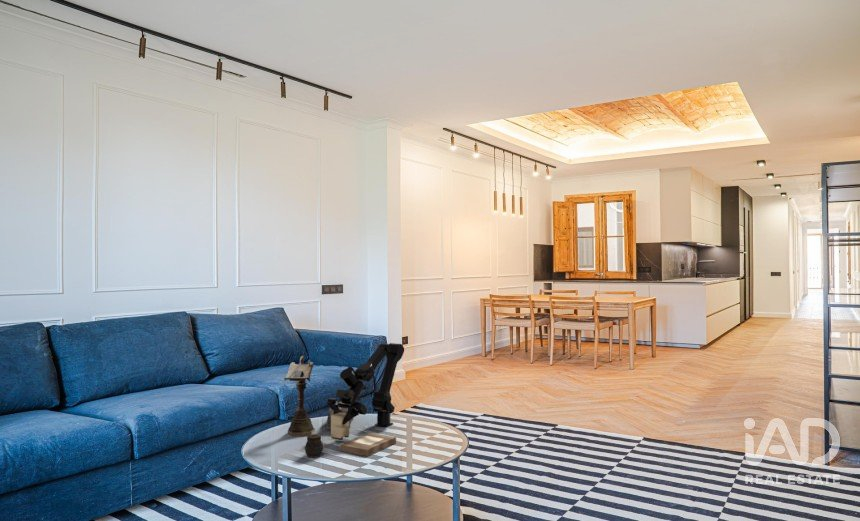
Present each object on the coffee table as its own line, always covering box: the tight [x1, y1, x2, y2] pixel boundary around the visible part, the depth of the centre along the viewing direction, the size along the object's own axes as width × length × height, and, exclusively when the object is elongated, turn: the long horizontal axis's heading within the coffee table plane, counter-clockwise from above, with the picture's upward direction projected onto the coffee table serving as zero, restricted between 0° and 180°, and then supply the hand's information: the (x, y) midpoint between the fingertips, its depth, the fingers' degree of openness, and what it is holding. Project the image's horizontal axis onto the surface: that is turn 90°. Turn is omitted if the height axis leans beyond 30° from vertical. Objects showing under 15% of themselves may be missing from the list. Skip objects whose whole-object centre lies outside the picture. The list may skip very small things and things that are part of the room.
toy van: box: [326, 401, 354, 431], centre depth 279 cm, size 11×25×10 cm, turn 3°
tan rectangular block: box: [330, 413, 350, 441], centre depth 251 cm, size 6×5×10 cm
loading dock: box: [339, 432, 397, 457], centre depth 244 cm, size 20×14×3 cm
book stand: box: [282, 355, 316, 437], centre depth 263 cm, size 17×13×35 cm
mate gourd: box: [304, 430, 324, 458], centre depth 233 cm, size 7×8×10 cm
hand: (338, 423), depth 250 cm, fingers closed on tan rectangular block, 5 cm apart
